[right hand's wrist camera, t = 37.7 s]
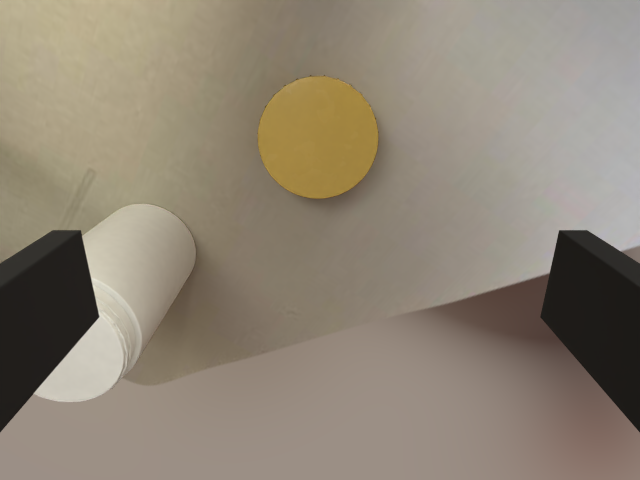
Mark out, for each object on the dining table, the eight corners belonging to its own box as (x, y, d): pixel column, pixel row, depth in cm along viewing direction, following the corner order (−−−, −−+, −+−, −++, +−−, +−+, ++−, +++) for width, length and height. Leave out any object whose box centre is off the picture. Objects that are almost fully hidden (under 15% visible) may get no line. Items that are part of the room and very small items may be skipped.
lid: (245, 91, 35) (241, 93, 34) (363, 61, 35) (366, 61, 33) (277, 203, 39) (275, 210, 37) (385, 178, 38) (388, 184, 36)
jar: (211, 276, 42) (154, 388, 27) (127, 301, 43) (31, 421, 28) (171, 191, 39) (84, 267, 24) (82, 220, 40) (-52, 309, 25)
